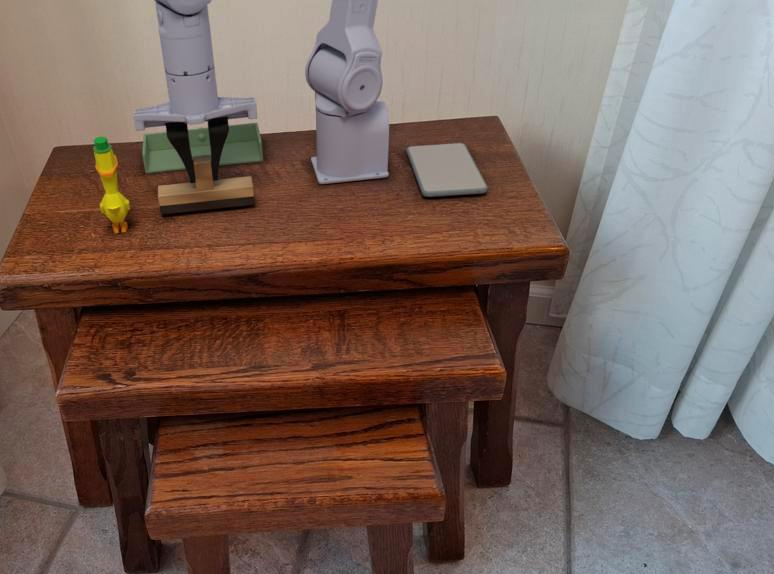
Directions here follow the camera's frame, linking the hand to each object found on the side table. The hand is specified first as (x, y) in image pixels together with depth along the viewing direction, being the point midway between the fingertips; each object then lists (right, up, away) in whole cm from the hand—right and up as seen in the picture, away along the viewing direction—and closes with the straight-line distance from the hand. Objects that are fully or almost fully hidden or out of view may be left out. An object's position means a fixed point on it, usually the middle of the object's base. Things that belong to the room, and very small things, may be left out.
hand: (204, 178), depth 96 cm
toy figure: (-11, -6, 0) cm, 12 cm away
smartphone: (+32, +2, +6) cm, 32 cm away
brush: (0, -3, +2) cm, 4 cm away
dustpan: (-2, +8, +16) cm, 18 cm away
